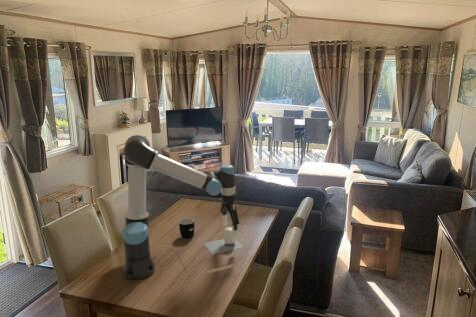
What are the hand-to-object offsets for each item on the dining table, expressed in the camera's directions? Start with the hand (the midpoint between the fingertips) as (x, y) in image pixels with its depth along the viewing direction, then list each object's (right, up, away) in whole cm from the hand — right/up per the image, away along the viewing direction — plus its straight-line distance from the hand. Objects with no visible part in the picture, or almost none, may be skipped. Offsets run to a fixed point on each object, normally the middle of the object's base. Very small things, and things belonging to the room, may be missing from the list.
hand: (230, 230), depth 198 cm
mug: (-25, -7, +15) cm, 30 cm away
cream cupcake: (0, -6, +1) cm, 7 cm away
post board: (-4, -9, +1) cm, 10 cm away
